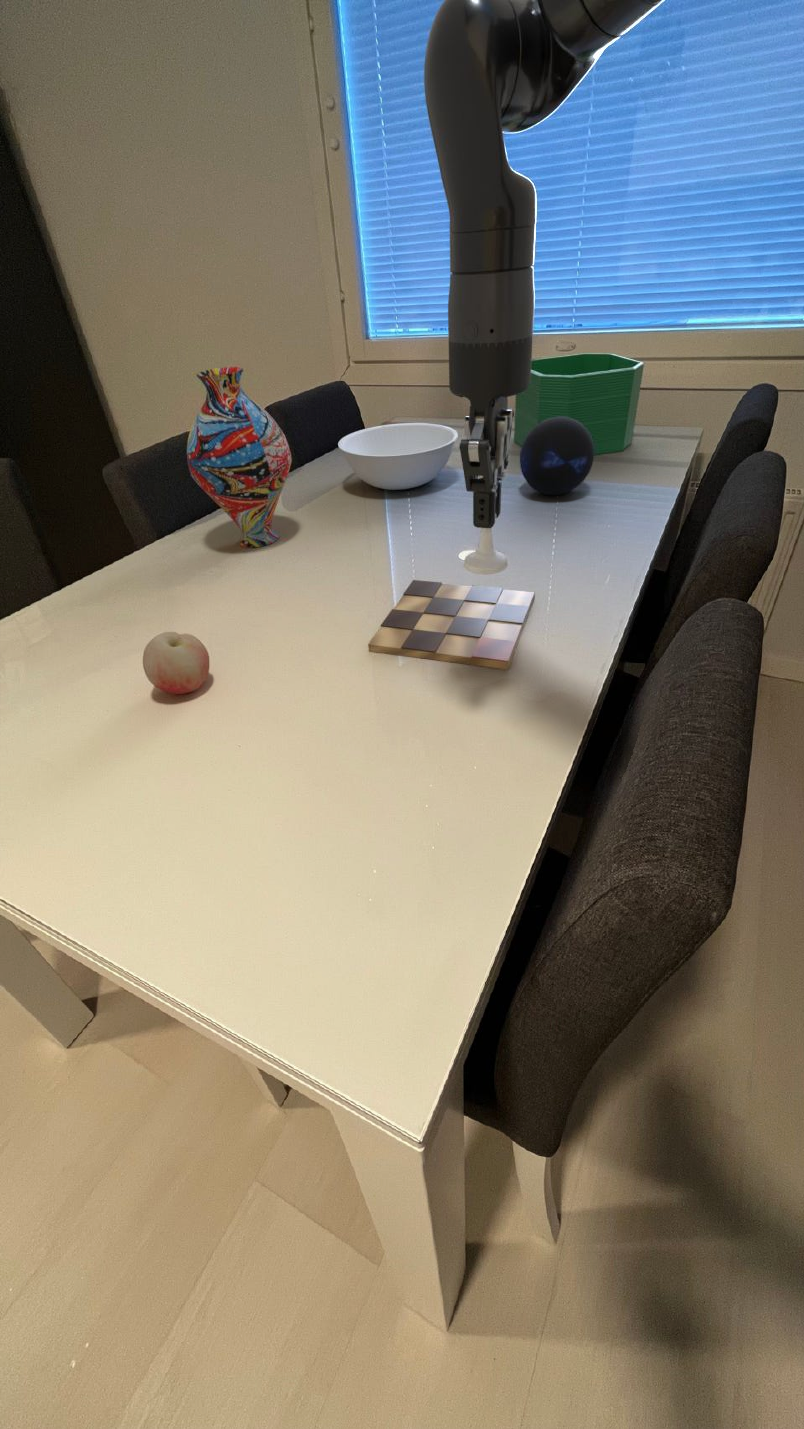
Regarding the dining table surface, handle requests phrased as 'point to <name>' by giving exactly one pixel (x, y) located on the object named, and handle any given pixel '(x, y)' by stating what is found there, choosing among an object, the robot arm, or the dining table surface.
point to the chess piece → (485, 556)
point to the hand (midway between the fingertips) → (486, 520)
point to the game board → (455, 624)
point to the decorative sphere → (557, 455)
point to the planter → (583, 397)
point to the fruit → (176, 662)
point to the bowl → (399, 453)
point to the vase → (238, 455)
